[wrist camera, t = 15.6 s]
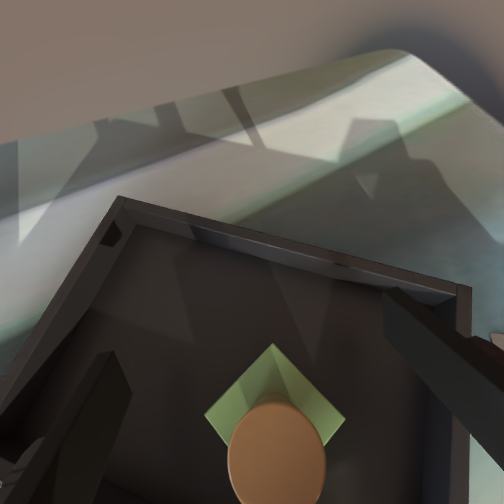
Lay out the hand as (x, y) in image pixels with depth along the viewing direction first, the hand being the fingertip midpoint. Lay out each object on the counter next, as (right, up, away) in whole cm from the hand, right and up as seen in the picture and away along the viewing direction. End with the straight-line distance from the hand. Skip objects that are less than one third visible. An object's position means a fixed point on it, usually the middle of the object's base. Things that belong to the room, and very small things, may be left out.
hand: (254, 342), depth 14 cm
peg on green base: (+1, -5, +2) cm, 6 cm away
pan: (-1, -3, +4) cm, 5 cm away
